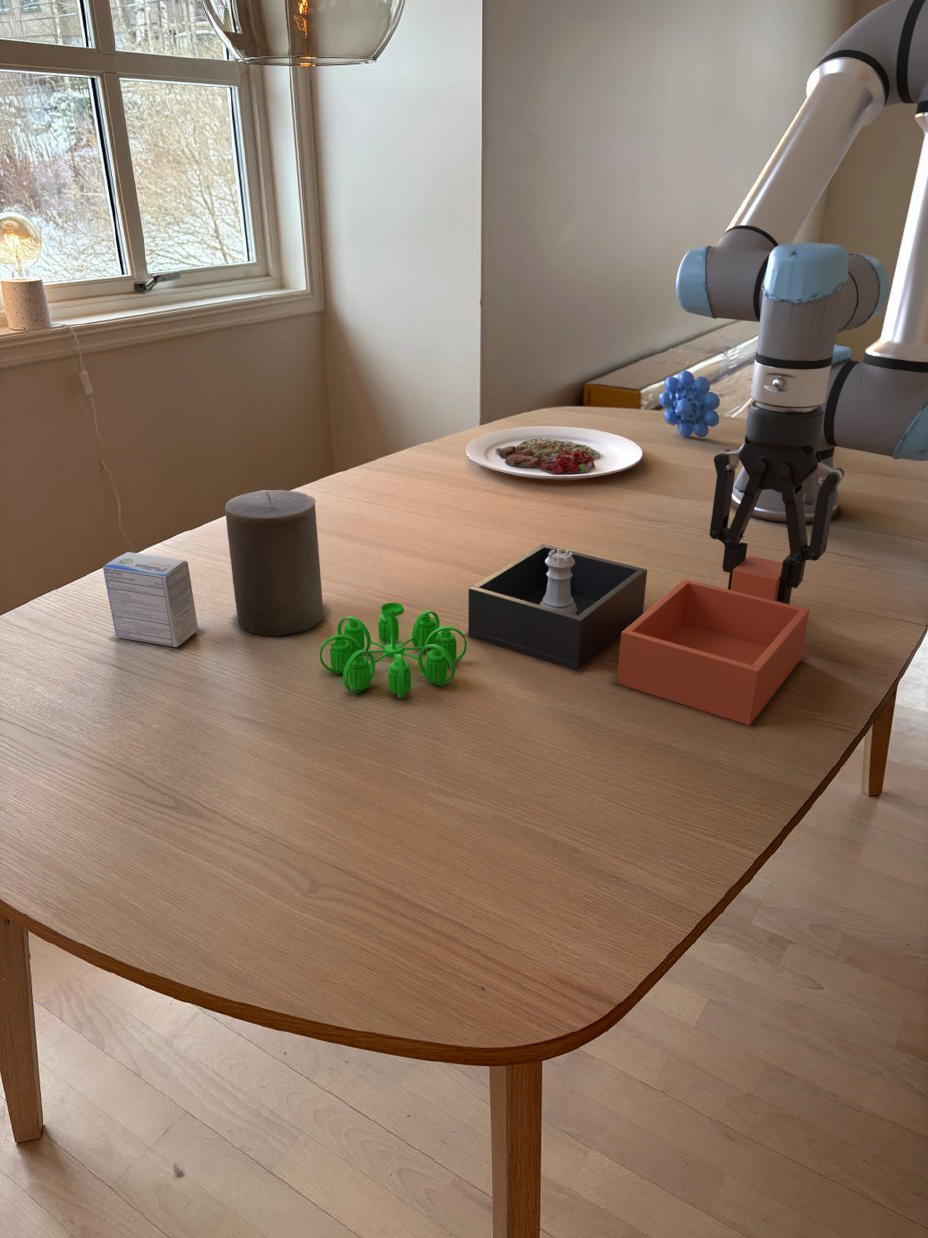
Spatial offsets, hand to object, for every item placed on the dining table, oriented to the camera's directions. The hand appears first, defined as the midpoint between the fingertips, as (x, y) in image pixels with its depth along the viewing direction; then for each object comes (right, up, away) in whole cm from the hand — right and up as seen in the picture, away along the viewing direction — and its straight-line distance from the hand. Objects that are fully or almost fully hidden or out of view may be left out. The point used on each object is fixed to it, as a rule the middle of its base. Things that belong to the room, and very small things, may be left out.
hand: (757, 603), depth 109 cm
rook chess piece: (-23, -2, -3) cm, 24 cm away
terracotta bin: (-8, -7, -12) cm, 16 cm away
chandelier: (-41, -7, -12) cm, 43 cm away
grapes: (+7, +32, +67) cm, 74 cm away
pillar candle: (-55, -2, -1) cm, 55 cm away
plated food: (-18, +25, +54) cm, 62 cm away
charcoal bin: (-23, -3, -3) cm, 24 cm away
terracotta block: (0, 0, 0) cm, 0 cm away
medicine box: (-67, -4, -5) cm, 68 cm away
